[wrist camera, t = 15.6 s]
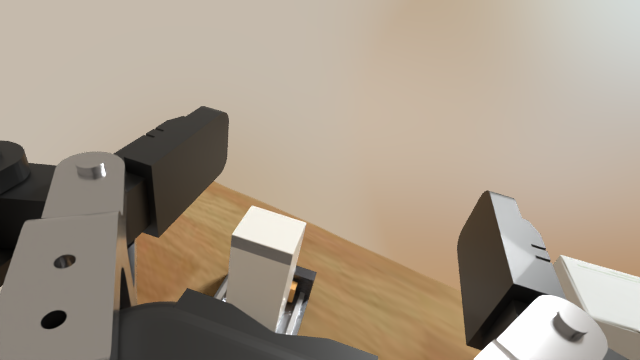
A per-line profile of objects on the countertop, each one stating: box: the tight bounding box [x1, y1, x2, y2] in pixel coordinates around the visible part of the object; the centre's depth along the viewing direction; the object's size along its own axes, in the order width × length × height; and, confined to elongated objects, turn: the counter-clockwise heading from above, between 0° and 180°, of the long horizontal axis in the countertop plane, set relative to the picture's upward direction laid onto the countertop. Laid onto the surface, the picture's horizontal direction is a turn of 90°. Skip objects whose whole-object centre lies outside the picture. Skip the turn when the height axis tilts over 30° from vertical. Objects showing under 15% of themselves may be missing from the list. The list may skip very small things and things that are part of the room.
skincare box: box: [553, 255, 640, 360], centre depth 30 cm, size 8×7×16 cm
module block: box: [226, 206, 306, 333], centre depth 32 cm, size 5×4×11 cm
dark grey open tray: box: [214, 266, 317, 335], centre depth 32 cm, size 9×15×4 cm, turn 166°
